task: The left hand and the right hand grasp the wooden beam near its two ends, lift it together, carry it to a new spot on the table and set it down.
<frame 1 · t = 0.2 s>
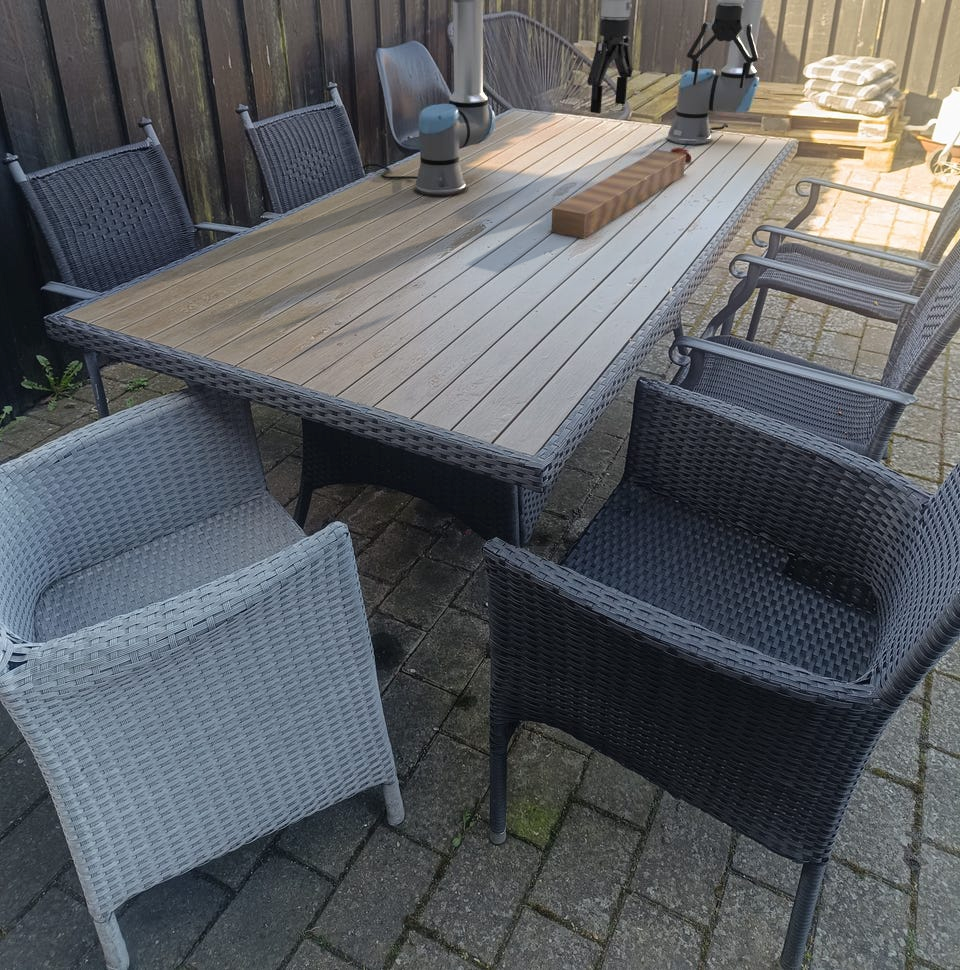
left hand: (608, 108, 226), 28 cm above the table, tool pointing down, fingers open, 13 cm apart
right hand: (717, 85, 251), 27 cm above the table, tool pointing down, fingers open, 13 cm apart
wooden beam: (623, 200, 249), on the table
dark red lumpy piece: (679, 161, 285), on the table
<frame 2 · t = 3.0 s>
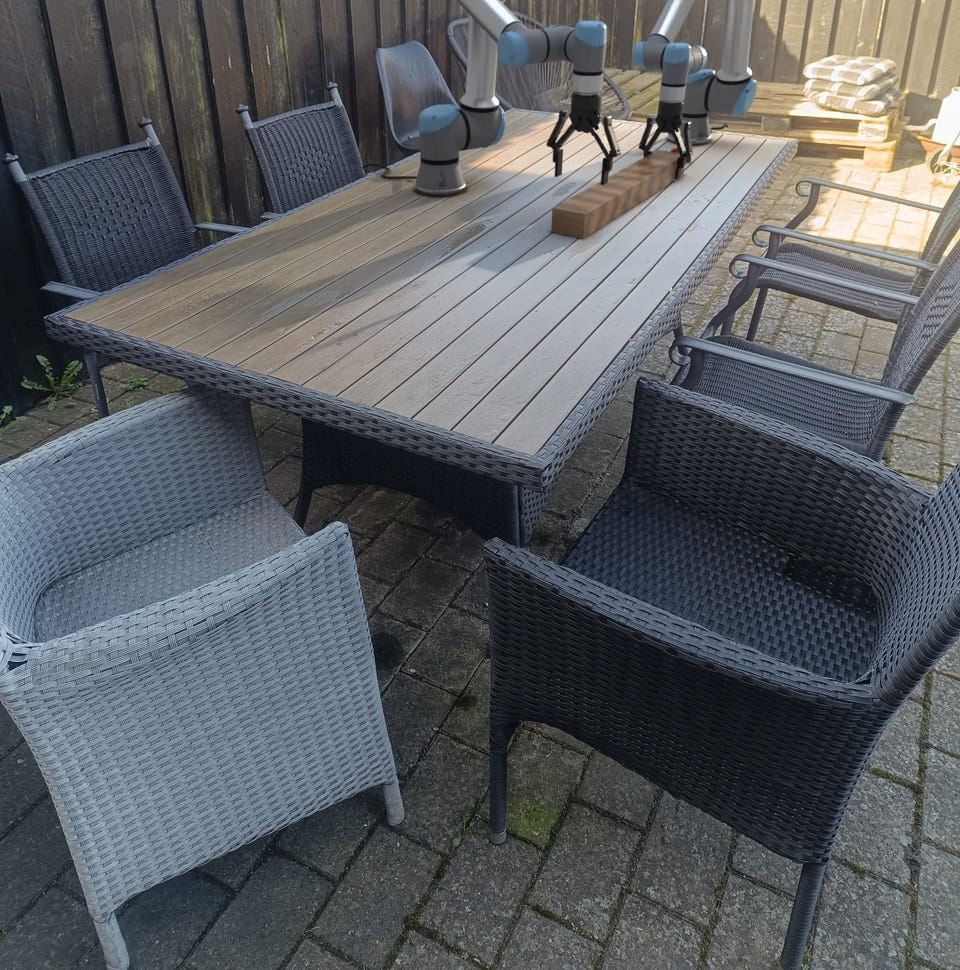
left hand: (580, 179, 222), 13 cm above the table, tool pointing down, fingers open, 13 cm apart
right hand: (662, 175, 269), 1 cm above the table, tool pointing down, fingers closed on wooden beam, 10 cm apart
wooden beam: (623, 200, 249), on the table, touching right hand
everything else where it was.
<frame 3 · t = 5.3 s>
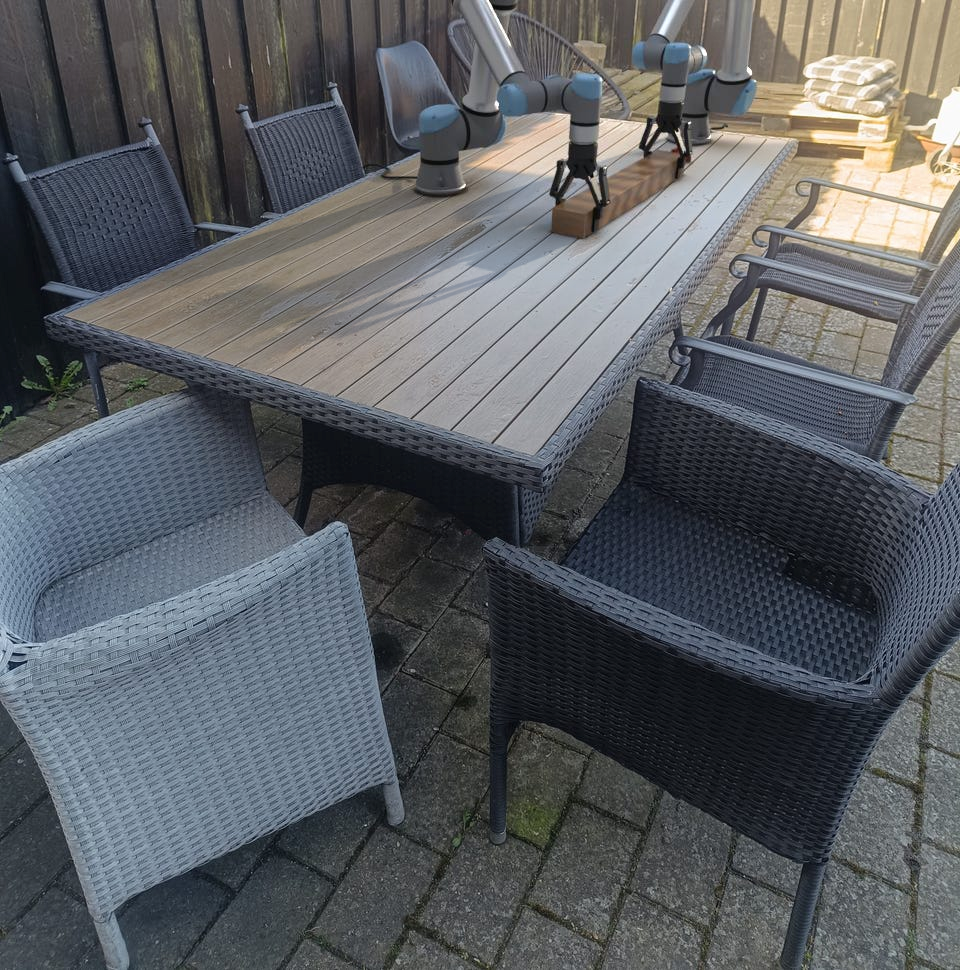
left hand: (577, 227, 229), 0 cm above the table, tool pointing down, fingers closed on wooden beam, 10 cm apart
right hand: (662, 175, 269), 1 cm above the table, tool pointing down, fingers closed on wooden beam, 10 cm apart
wooden beam: (623, 200, 249), on the table, touching left hand, right hand
everything else where it was.
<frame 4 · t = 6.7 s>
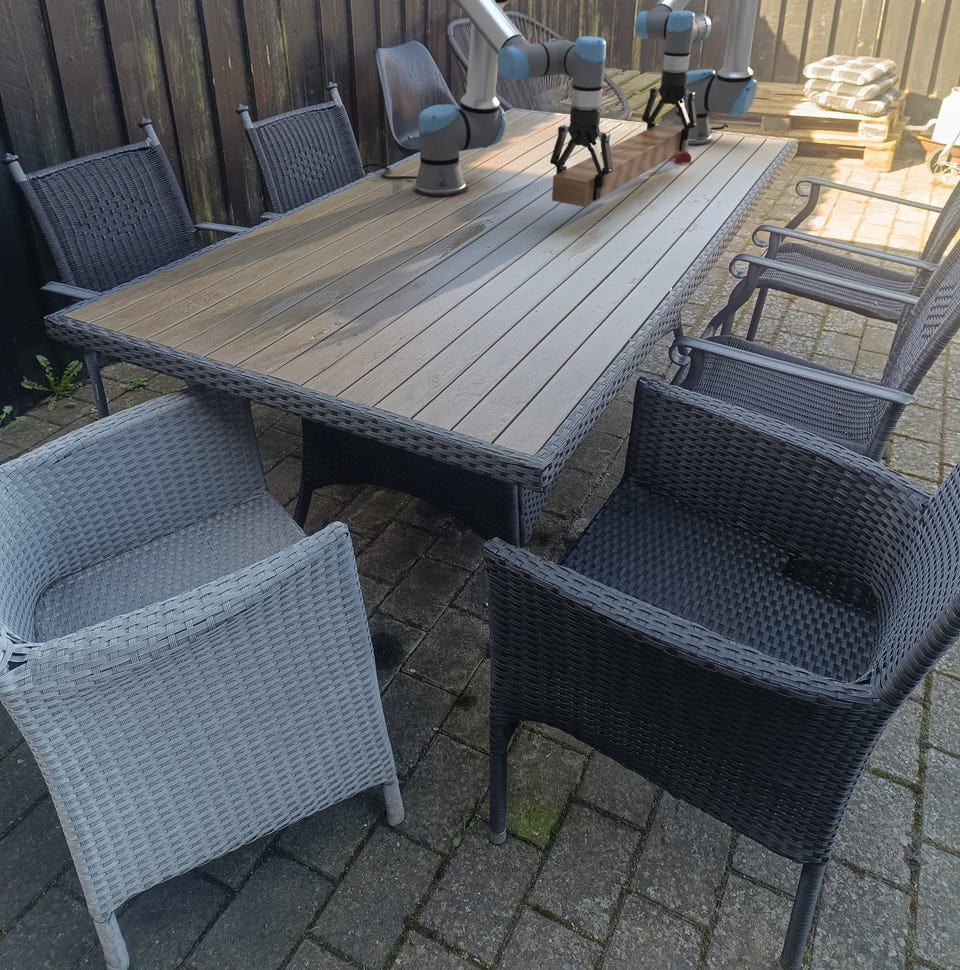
left hand: (578, 195, 225), 9 cm above the table, tool pointing down, fingers closed on wooden beam, 10 cm apart
right hand: (666, 148, 265), 9 cm above the table, tool pointing down, fingers closed on wooden beam, 10 cm apart
wooden beam: (625, 172, 245), point 8 cm above the table, touching left hand, right hand
everything else where it was.
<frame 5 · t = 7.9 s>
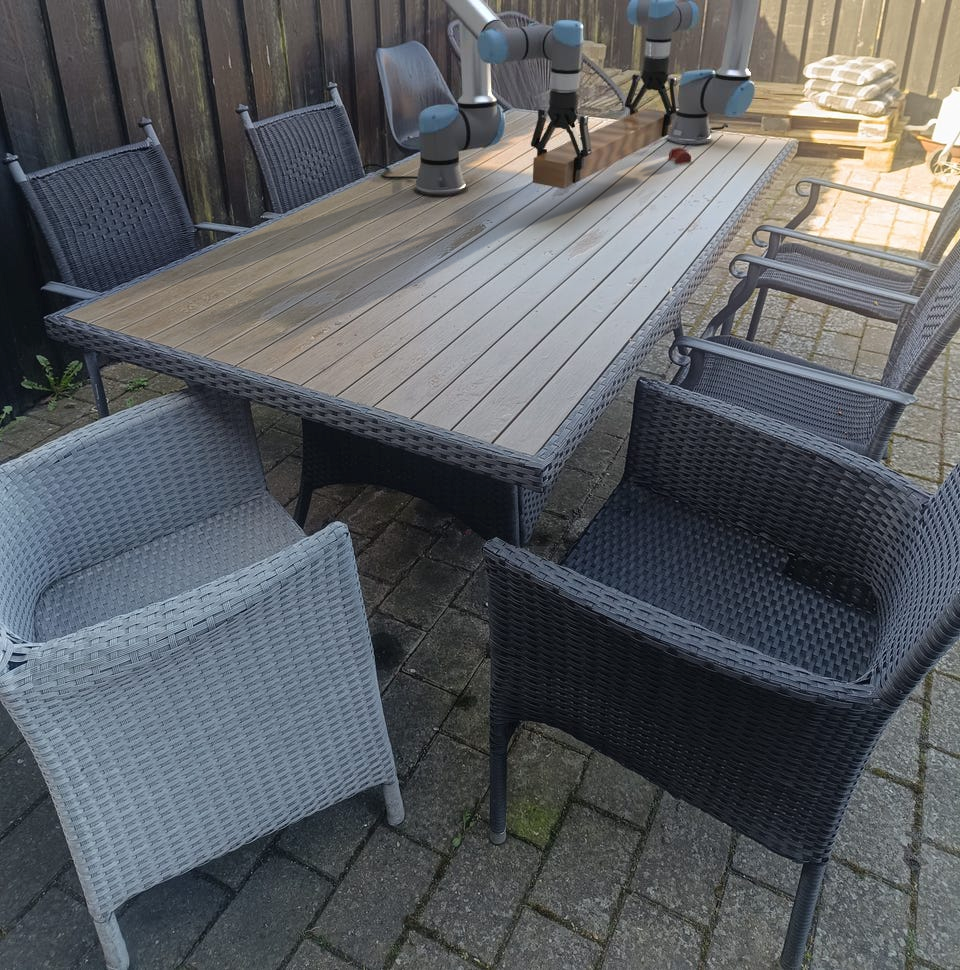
left hand: (558, 178, 229), 11 cm above the table, tool pointing down, fingers closed on wooden beam, 10 cm apart
right hand: (648, 133, 269), 12 cm above the table, tool pointing down, fingers closed on wooden beam, 10 cm apart
wooden beam: (607, 156, 249), point 11 cm above the table, touching left hand, right hand
everything else where it was.
when the left hand's fingers open (2 cm above the table, at t = 10.6 s): wooden beam stays where it is, on the table.
when the right hand's fingers open (2 cm above the table, at t = 10.6 s): wooden beam stays where it is, on the table.
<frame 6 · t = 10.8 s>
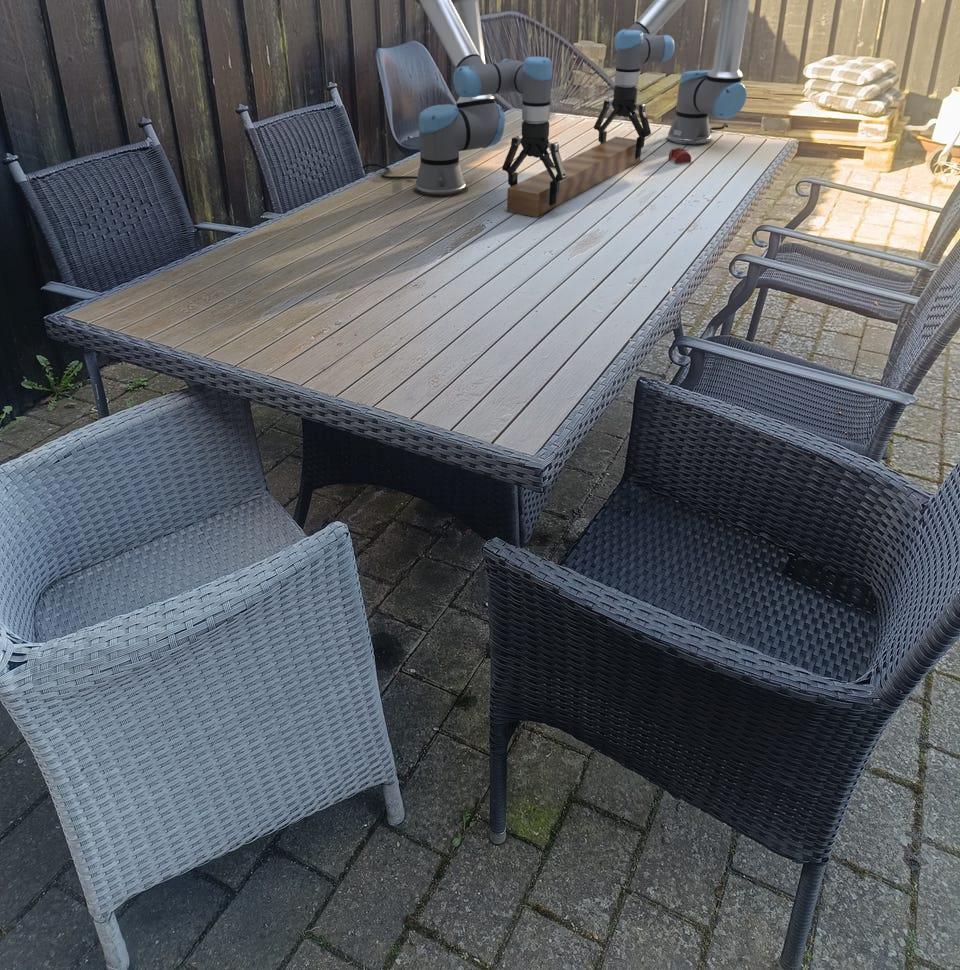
left hand: (532, 200, 242), 2 cm above the table, tool pointing down, fingers open, 12 cm apart
right hand: (619, 155, 282), 2 cm above the table, tool pointing down, fingers open, 12 cm apart
wooden beam: (579, 183, 264), on the table
everything else where it was.
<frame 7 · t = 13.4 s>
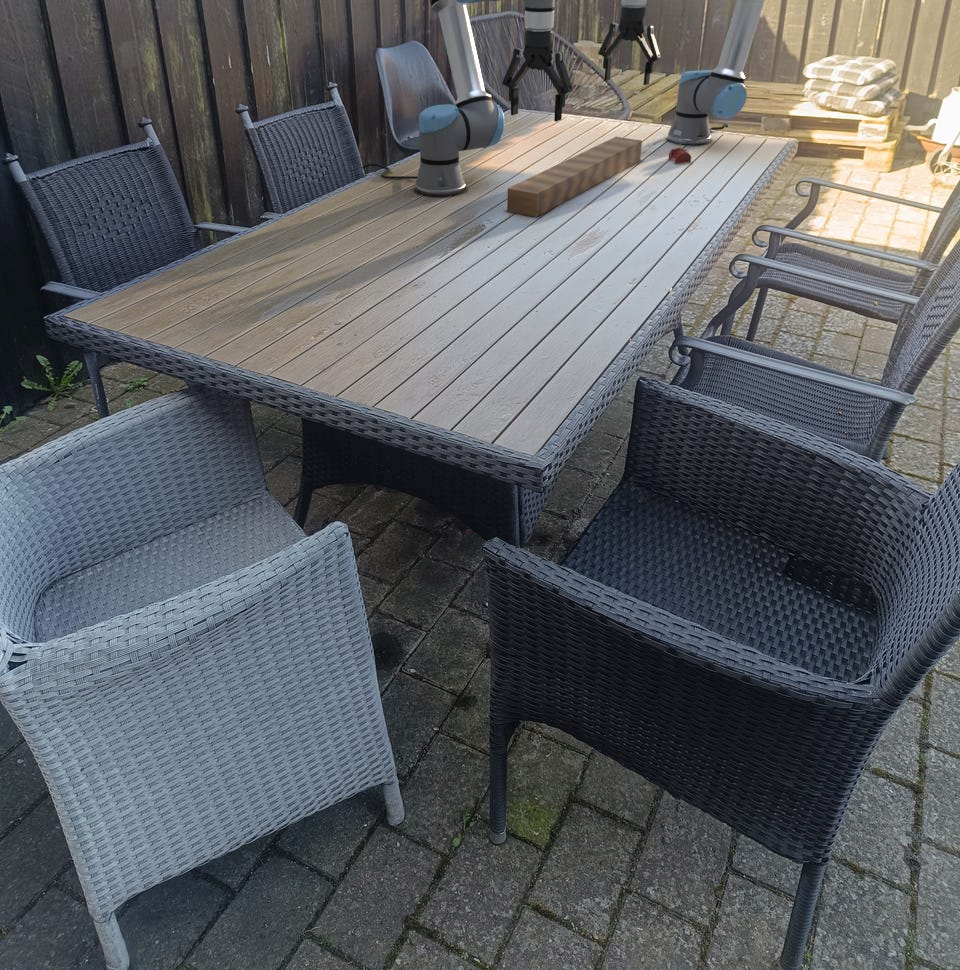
left hand: (535, 117, 229), 25 cm above the table, tool pointing down, fingers open, 13 cm apart
right hand: (626, 82, 269), 25 cm above the table, tool pointing down, fingers open, 13 cm apart
nothing on the table moved.
at the end: wooden beam inside the target area (0.1 cm from its centre), on the table; wooden beam tilted 0°; wooden beam never tilted more than 1° during the clip; both hands held the wooden beam at the same time; the left hand is holding nothing; the right hand is holding nothing; wooden beam at rest at the end (0.0 cm/s) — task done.
